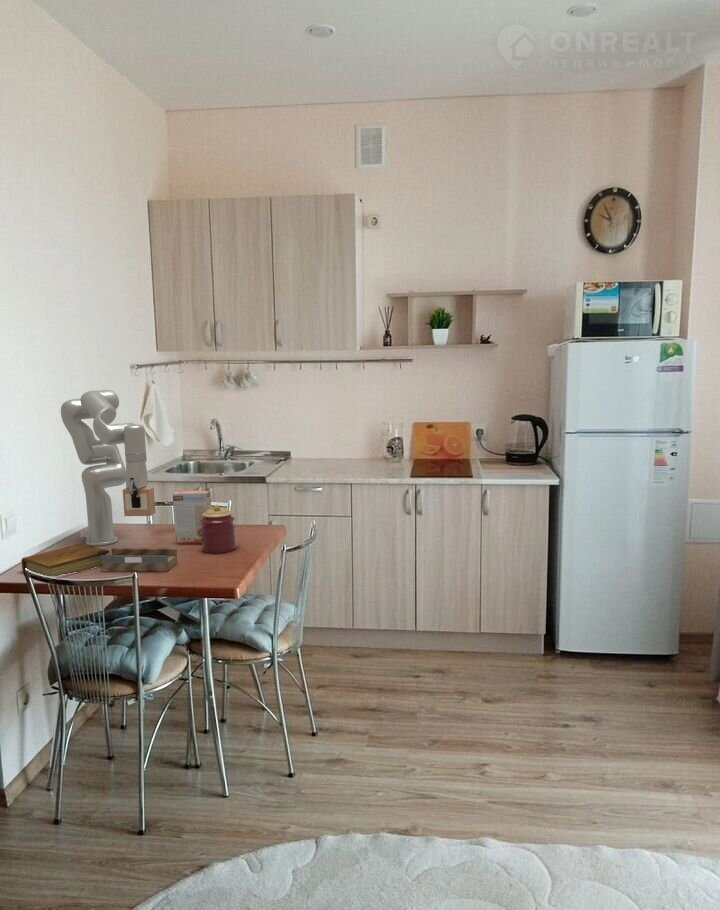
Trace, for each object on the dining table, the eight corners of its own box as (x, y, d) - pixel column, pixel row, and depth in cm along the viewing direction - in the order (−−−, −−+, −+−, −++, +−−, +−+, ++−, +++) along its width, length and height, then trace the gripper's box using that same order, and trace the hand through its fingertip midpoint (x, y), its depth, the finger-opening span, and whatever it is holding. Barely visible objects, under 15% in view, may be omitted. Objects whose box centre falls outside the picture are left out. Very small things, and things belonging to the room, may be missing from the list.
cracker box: (213, 540, 293) (211, 489, 290) (209, 544, 287) (206, 492, 284) (180, 540, 295) (177, 490, 292) (175, 544, 289) (172, 492, 286)
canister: (207, 544, 287) (204, 501, 284) (239, 544, 286) (237, 500, 283) (198, 553, 274) (195, 508, 271) (231, 553, 273) (229, 508, 271)
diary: (81, 557, 275) (80, 543, 274) (110, 565, 263) (108, 550, 263) (22, 572, 257) (21, 557, 256) (50, 581, 245) (49, 565, 245)
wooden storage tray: (101, 571, 254) (99, 556, 253) (114, 562, 265) (112, 548, 264) (167, 571, 252) (166, 556, 251) (177, 563, 262) (176, 548, 262)
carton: (129, 513, 274) (127, 487, 272) (155, 513, 273) (153, 487, 271) (124, 516, 269) (122, 489, 267) (150, 516, 268) (148, 489, 266)
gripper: (135, 454, 276) (138, 501, 279) (116, 461, 259) (120, 511, 262) (154, 454, 276) (157, 501, 278) (136, 461, 259) (140, 510, 261)
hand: (139, 505), depth 270 cm, fingers closed on carton, 5 cm apart
